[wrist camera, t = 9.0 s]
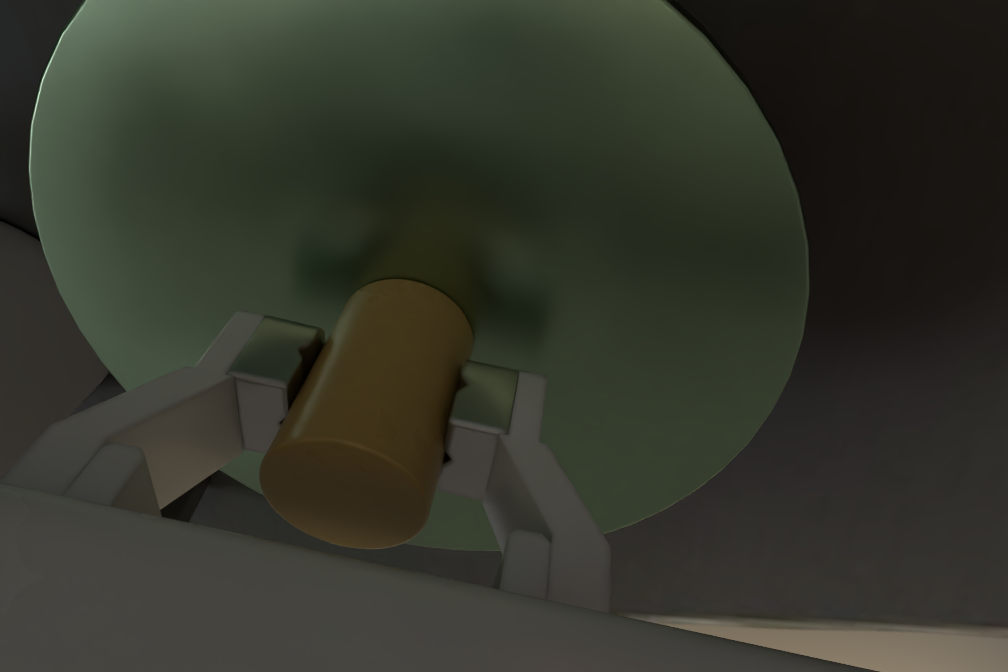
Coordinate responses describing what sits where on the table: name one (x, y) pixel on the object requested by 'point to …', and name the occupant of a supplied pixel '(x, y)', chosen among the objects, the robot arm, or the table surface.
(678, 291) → the tin lid
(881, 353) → the table surface
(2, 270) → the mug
